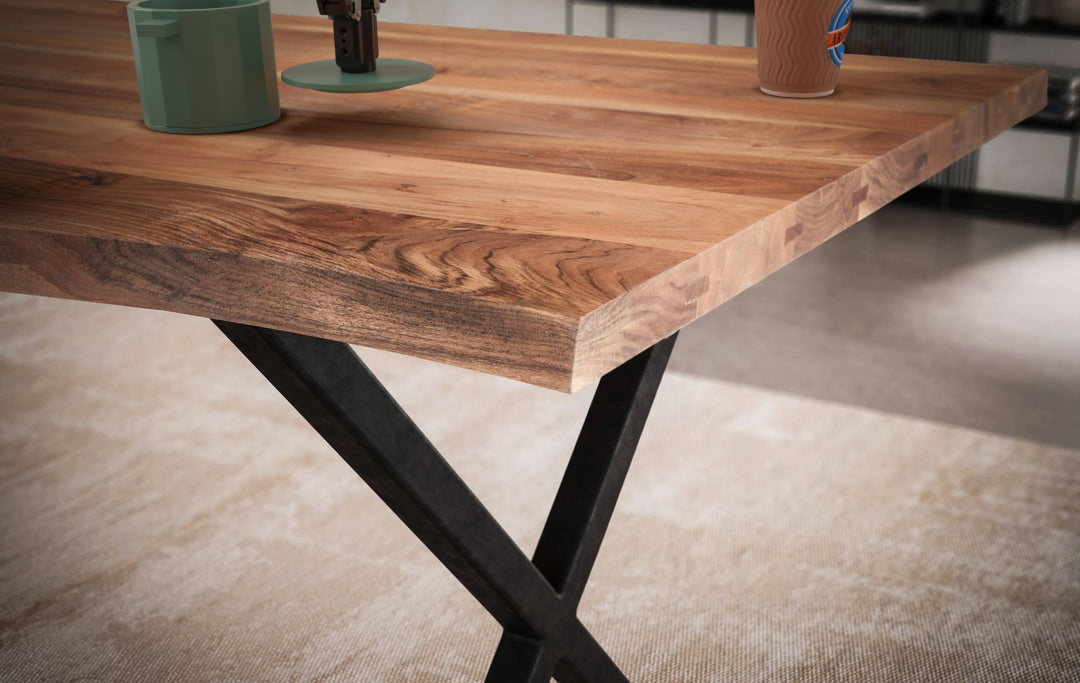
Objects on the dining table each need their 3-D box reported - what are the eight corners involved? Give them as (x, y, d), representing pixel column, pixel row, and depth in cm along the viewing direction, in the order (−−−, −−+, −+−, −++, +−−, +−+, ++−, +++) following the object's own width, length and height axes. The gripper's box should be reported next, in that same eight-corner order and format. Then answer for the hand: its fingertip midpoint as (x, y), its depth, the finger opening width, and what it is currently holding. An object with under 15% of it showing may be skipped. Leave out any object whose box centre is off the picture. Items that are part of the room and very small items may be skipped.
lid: (256, 95, 94) (248, 17, 91) (317, 68, 105) (311, -2, 103) (407, 101, 91) (403, 21, 89) (453, 72, 103) (451, 1, 100)
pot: (101, 138, 96) (81, 13, 92) (199, 97, 111) (185, -11, 107) (230, 144, 94) (216, 16, 90) (312, 101, 109) (303, -10, 105)
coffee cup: (848, 104, 106) (861, -35, 101) (734, 98, 108) (742, -37, 104) (855, 83, 115) (868, -45, 110) (750, 78, 117) (758, -47, 113)
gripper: (332, -160, 98) (346, 49, 105) (260, -161, 85) (281, 77, 92) (417, -161, 96) (426, 51, 103) (357, -162, 84) (371, 80, 91)
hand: (357, 62), depth 98 cm, fingers closed on lid, 3 cm apart
